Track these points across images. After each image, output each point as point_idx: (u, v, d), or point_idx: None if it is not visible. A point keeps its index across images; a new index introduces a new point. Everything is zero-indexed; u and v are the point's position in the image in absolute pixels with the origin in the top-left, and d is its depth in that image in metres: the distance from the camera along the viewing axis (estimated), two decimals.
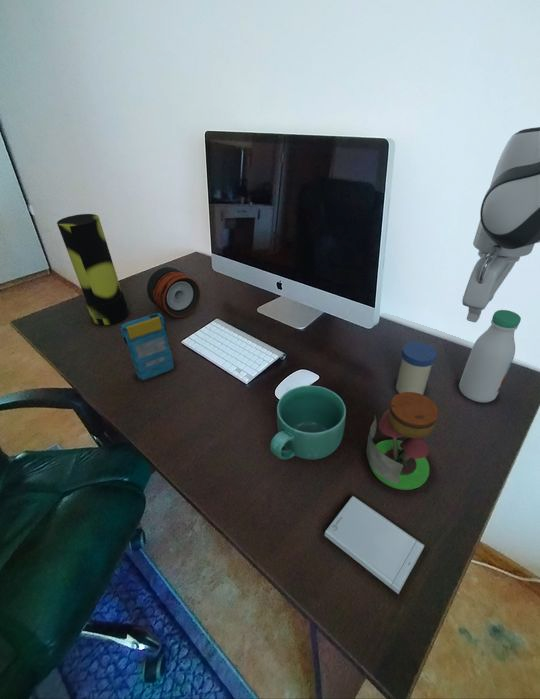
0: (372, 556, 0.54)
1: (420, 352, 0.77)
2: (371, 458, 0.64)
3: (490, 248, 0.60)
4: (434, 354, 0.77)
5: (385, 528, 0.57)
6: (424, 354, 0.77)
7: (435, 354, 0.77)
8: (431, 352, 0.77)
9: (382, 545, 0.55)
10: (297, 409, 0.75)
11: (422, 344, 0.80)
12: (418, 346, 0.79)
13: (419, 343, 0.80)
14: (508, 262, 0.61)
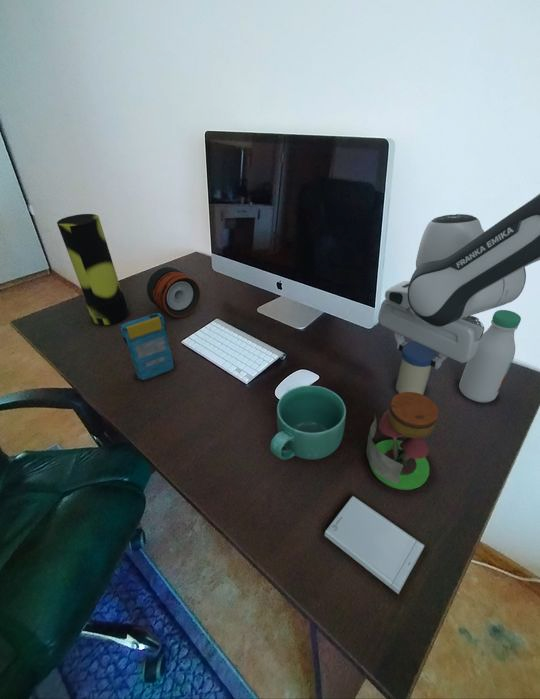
0: (372, 556, 0.54)
1: (420, 352, 0.77)
2: (371, 458, 0.64)
3: None
4: (434, 354, 0.77)
5: (385, 528, 0.57)
6: (424, 354, 0.77)
7: (435, 354, 0.77)
8: (431, 352, 0.77)
9: (382, 545, 0.55)
10: (297, 409, 0.75)
11: None
12: (418, 346, 0.79)
13: (419, 343, 0.80)
14: None
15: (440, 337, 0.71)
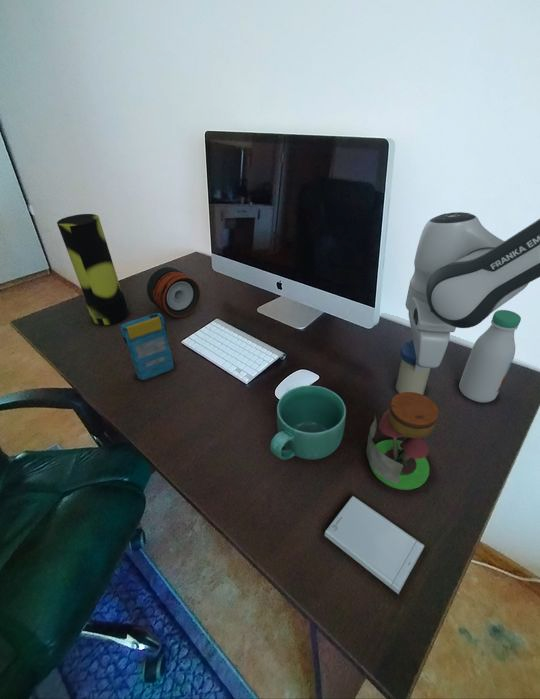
0: (372, 556, 0.54)
1: None
2: (371, 458, 0.64)
3: None
4: (411, 342, 0.80)
5: (385, 528, 0.57)
6: None
7: (410, 341, 0.80)
8: (410, 344, 0.79)
9: (382, 545, 0.55)
10: (297, 409, 0.75)
11: (406, 351, 0.77)
12: (412, 352, 0.77)
13: (407, 353, 0.77)
14: None
15: None
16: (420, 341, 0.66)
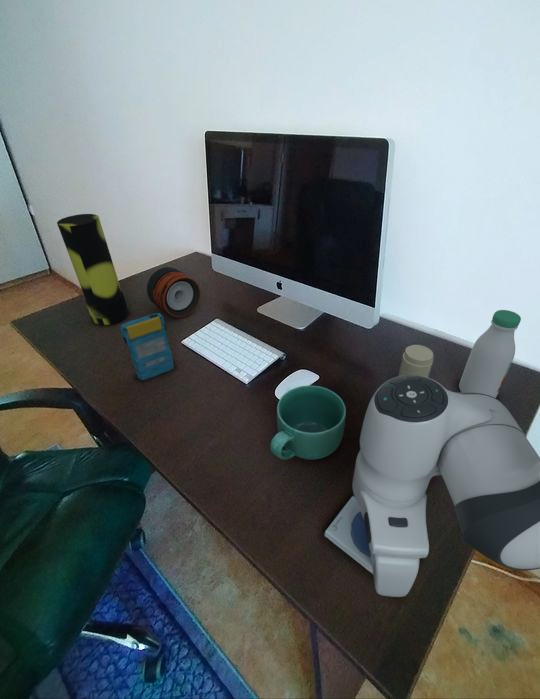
0: None
1: None
2: None
3: None
4: None
5: None
6: None
7: None
8: None
9: None
10: (297, 409, 0.75)
11: (358, 534, 0.55)
12: None
13: (359, 539, 0.54)
14: None
15: None
16: (376, 569, 0.43)
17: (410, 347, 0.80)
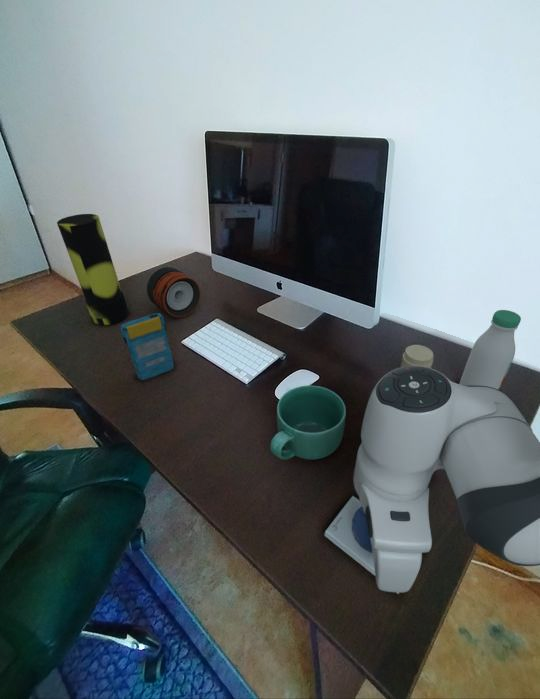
0: (372, 556, 0.54)
1: None
2: None
3: None
4: None
5: None
6: None
7: None
8: None
9: None
10: (297, 409, 0.75)
11: (359, 530, 0.54)
12: (368, 531, 0.54)
13: (360, 534, 0.53)
14: None
15: None
16: (378, 564, 0.42)
17: (410, 347, 0.80)
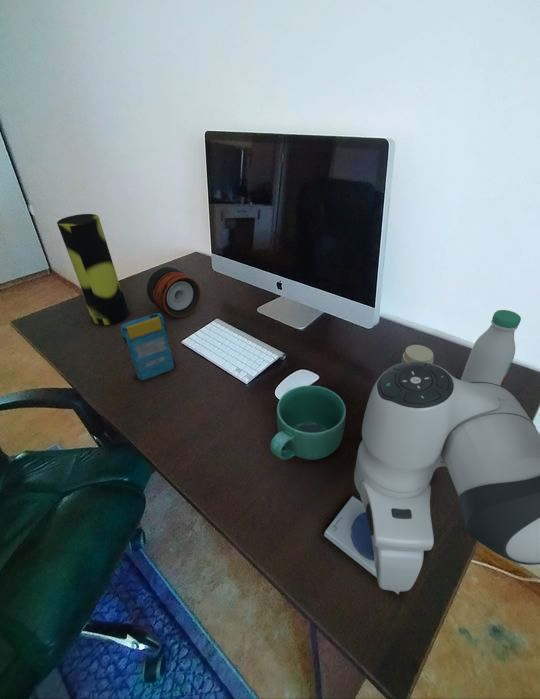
0: None
1: None
2: None
3: None
4: (365, 514, 0.57)
5: None
6: None
7: (364, 514, 0.57)
8: (364, 519, 0.57)
9: None
10: (297, 409, 0.75)
11: (358, 537, 0.54)
12: (367, 539, 0.54)
13: (360, 542, 0.54)
14: None
15: None
16: (379, 562, 0.41)
17: (410, 347, 0.80)
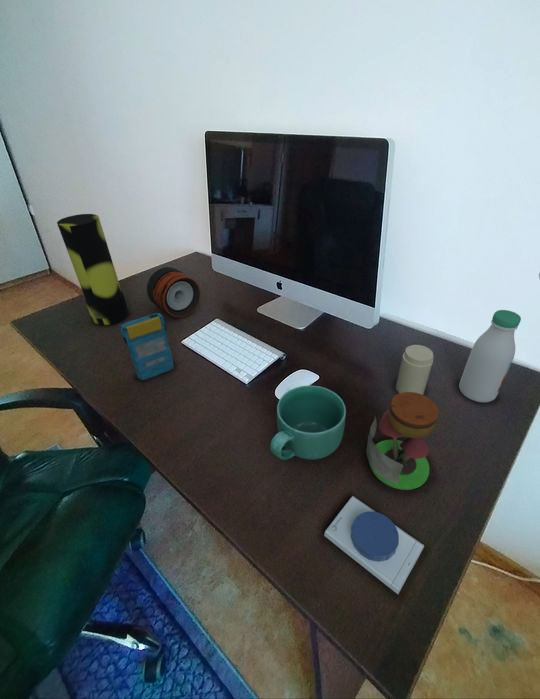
0: None
1: (377, 530, 0.55)
2: (371, 458, 0.64)
3: None
4: (365, 514, 0.57)
5: None
6: (376, 524, 0.56)
7: (364, 514, 0.57)
8: (364, 519, 0.57)
9: None
10: (297, 409, 0.75)
11: (358, 537, 0.54)
12: (367, 539, 0.54)
13: (360, 542, 0.54)
14: None
15: None
16: None
17: (410, 347, 0.80)
